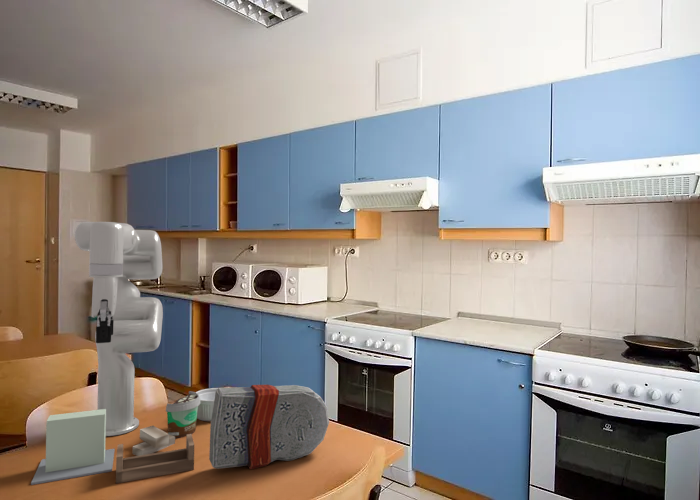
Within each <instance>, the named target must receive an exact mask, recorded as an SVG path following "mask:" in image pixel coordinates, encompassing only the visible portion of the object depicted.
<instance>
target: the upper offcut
mask: <svg viewBox="0 0 700 500" xmlns="http://www.w3.org/2000/svg"><path fill="white" fill-rule="evenodd" d="M139 440H141V441H143V442H146V443H148V444H150V445H151V446H153V447H154V448H157V447H160V446H163V445H166V444H169V434H168V432H166V431H164V430H162V429H161V428H158V427H156V426H155V425H150V426H146V427H143V428H140V429H139Z"/></svg>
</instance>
